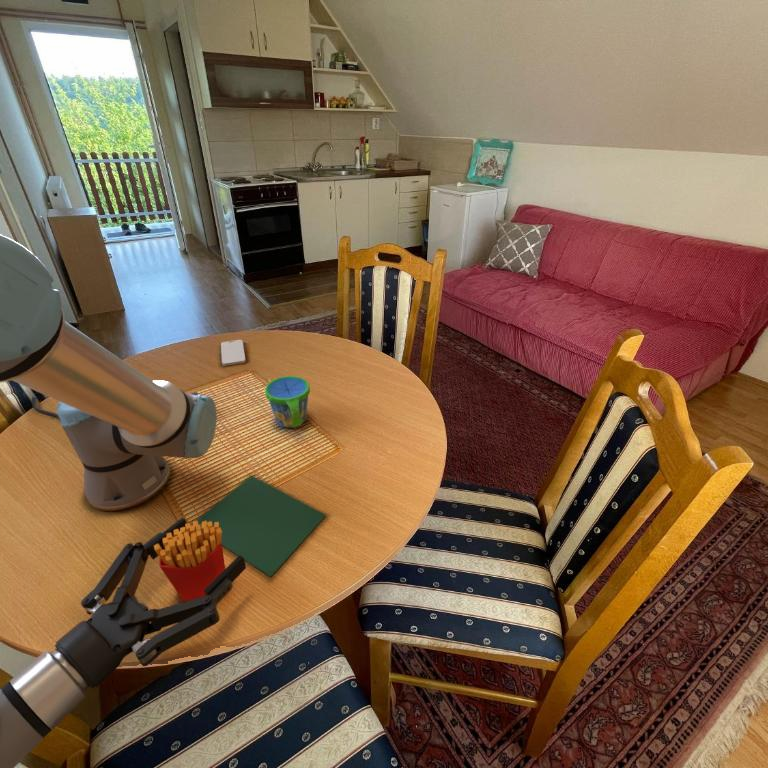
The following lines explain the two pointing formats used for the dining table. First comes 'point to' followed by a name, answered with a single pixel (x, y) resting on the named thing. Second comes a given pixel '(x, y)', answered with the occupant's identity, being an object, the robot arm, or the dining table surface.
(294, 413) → the snack cup
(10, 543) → the dining table surface
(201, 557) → the french fries
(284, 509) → the green cloth
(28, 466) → the dining table surface
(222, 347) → the smartphone
